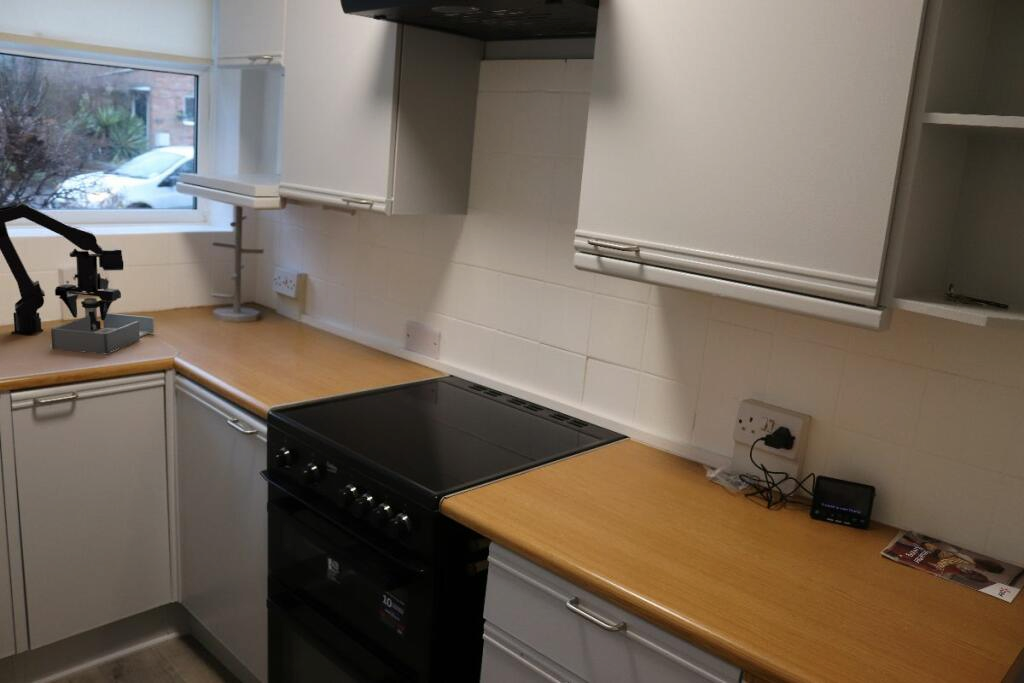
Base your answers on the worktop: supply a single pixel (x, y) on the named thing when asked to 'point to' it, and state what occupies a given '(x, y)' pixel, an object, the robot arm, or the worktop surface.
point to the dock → (92, 337)
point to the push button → (92, 312)
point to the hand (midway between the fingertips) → (89, 318)
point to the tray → (121, 320)
